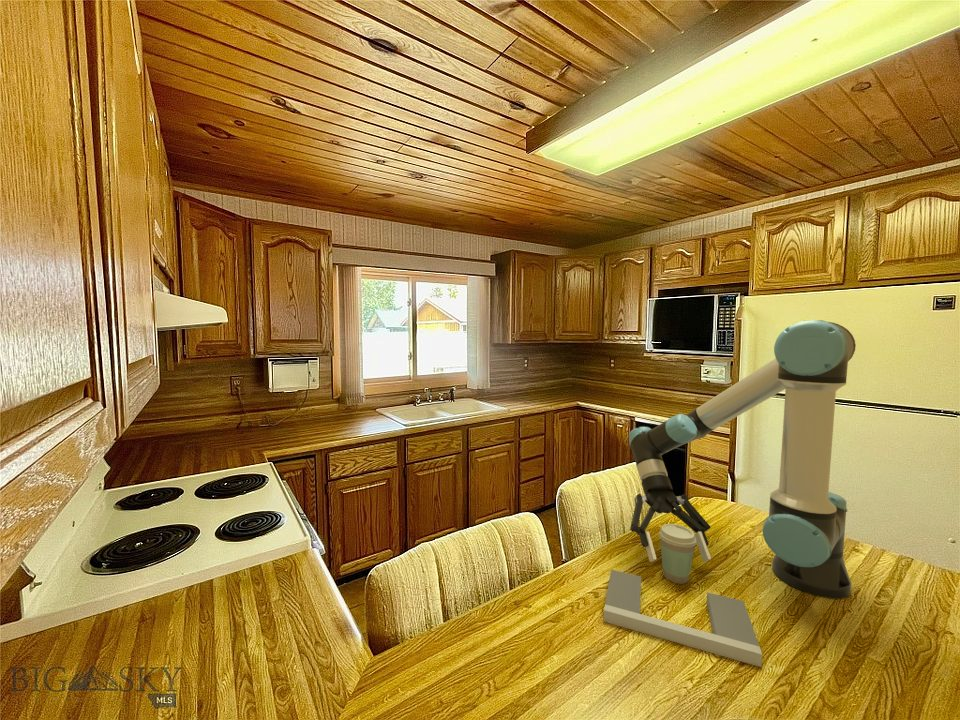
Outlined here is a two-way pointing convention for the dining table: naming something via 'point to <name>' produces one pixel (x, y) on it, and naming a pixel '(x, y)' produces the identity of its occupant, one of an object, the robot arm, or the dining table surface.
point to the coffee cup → (677, 552)
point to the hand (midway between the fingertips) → (680, 560)
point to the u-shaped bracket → (726, 619)
